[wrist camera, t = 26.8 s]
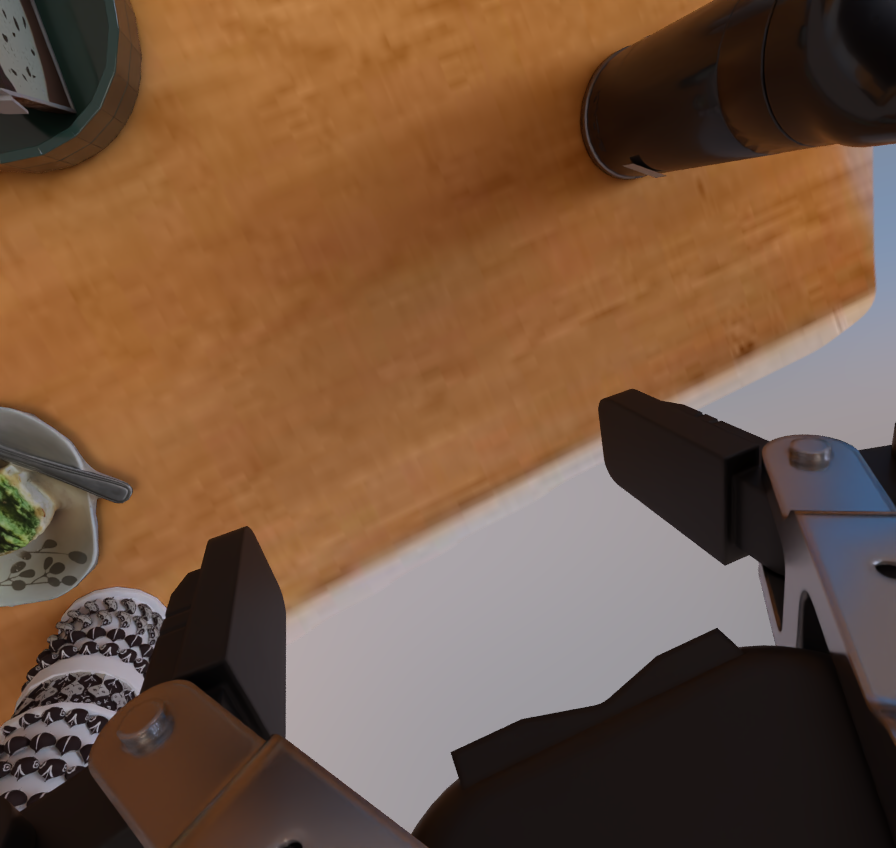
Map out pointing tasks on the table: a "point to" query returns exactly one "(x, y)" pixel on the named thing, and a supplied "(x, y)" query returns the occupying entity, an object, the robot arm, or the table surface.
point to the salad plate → (46, 510)
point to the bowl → (79, 86)
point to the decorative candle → (77, 690)
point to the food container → (29, 63)
